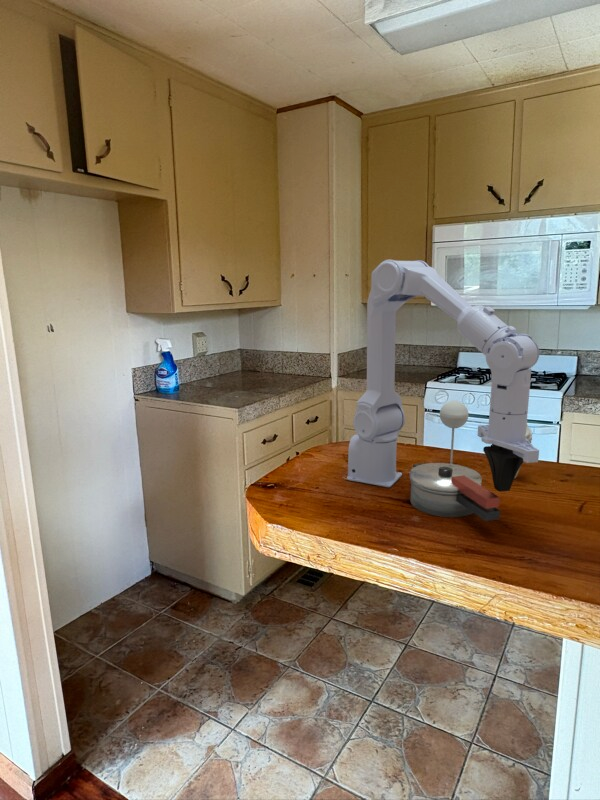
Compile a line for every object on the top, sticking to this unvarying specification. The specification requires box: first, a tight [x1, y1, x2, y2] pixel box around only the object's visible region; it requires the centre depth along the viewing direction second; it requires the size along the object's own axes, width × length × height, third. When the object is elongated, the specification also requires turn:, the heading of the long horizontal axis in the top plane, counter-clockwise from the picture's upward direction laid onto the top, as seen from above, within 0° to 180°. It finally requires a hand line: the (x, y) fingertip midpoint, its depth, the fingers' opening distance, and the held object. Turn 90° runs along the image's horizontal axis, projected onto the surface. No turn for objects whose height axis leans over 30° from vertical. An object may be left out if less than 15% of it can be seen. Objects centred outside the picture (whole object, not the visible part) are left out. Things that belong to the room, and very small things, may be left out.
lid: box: [409, 462, 501, 509], centre depth 92 cm, size 20×13×2 cm, turn 16°
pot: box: [409, 462, 501, 522], centre depth 95 cm, size 18×18×5 cm
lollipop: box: [439, 400, 470, 464], centre depth 113 cm, size 6×6×15 cm
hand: (502, 489), depth 88 cm, fingers closed
